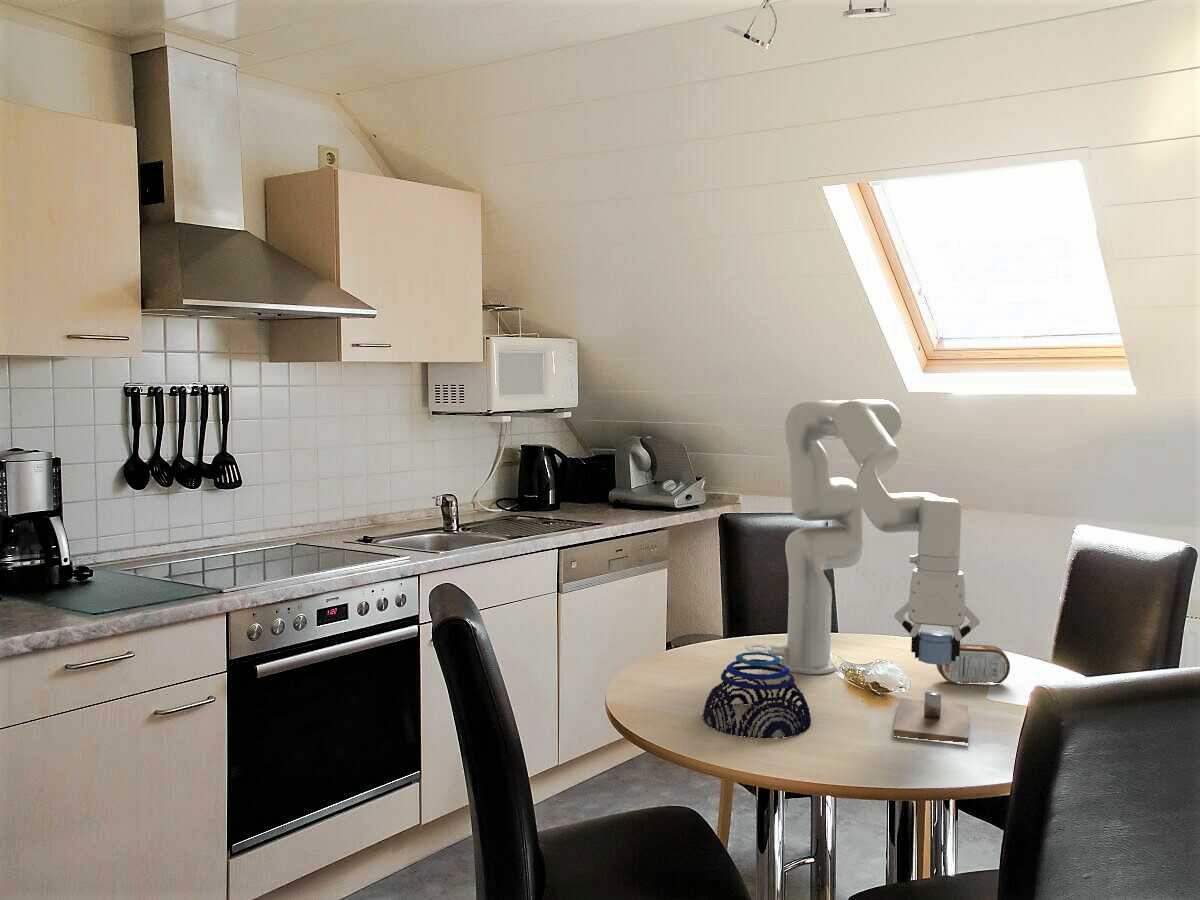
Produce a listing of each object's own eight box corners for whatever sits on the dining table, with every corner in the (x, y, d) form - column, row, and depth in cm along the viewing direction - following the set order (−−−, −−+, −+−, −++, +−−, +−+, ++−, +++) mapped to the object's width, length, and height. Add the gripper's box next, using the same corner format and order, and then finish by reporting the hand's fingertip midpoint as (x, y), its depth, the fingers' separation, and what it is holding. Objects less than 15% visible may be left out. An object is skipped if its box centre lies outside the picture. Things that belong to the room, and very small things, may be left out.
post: (923, 718, 207) (924, 695, 207) (924, 713, 210) (925, 690, 210) (940, 720, 206) (941, 696, 206) (940, 715, 209) (941, 692, 209)
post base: (893, 737, 201) (893, 729, 201) (899, 705, 220) (899, 697, 220) (968, 746, 197) (968, 737, 197) (967, 712, 216) (968, 705, 216)
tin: (1006, 683, 236) (1008, 644, 235) (1010, 687, 233) (1012, 648, 232) (935, 680, 238) (936, 642, 237) (938, 684, 234) (939, 646, 234)
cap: (917, 662, 205) (918, 636, 205) (919, 654, 211) (920, 629, 210) (951, 665, 203) (952, 639, 203) (952, 657, 209) (952, 631, 208)
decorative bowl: (727, 743, 197) (728, 665, 196) (688, 709, 216) (690, 637, 215) (828, 735, 202) (830, 658, 201) (782, 701, 221) (784, 631, 220)
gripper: (889, 564, 205) (886, 658, 206) (987, 570, 199) (983, 667, 201) (892, 557, 212) (889, 649, 213) (986, 563, 206) (983, 657, 208)
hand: (935, 657), depth 207 cm, fingers closed on cap, 6 cm apart
